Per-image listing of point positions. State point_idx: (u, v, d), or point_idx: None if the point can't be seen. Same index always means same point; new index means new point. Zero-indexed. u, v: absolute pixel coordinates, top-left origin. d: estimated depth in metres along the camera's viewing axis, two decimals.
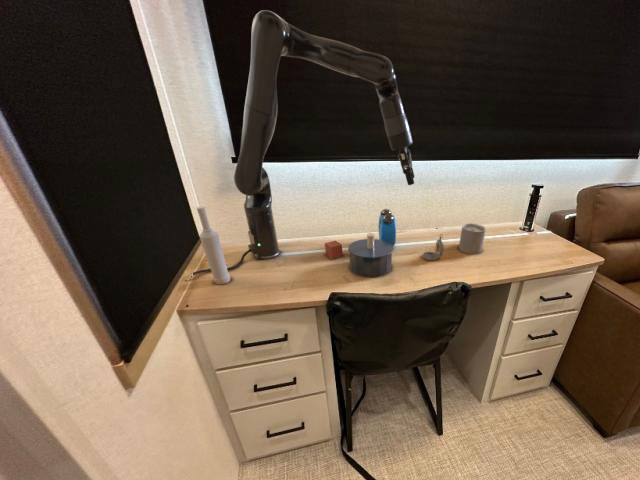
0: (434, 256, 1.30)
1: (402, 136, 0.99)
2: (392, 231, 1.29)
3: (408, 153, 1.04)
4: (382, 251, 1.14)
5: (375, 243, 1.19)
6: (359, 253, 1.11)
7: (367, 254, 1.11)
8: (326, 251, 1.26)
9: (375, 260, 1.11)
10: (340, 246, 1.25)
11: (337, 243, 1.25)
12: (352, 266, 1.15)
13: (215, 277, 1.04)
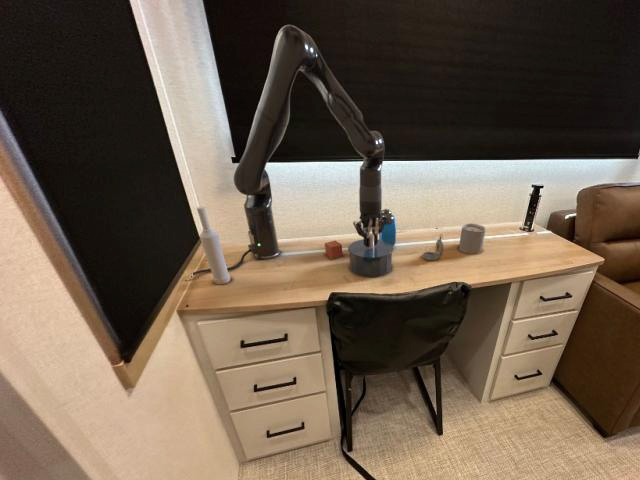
0: (434, 256, 1.30)
1: (364, 204, 1.04)
2: (392, 231, 1.29)
3: (368, 220, 1.08)
4: (382, 251, 1.14)
5: None
6: (359, 253, 1.11)
7: (367, 254, 1.11)
8: (326, 251, 1.26)
9: (375, 260, 1.11)
10: (340, 246, 1.25)
11: (337, 243, 1.25)
12: (352, 266, 1.15)
13: (215, 277, 1.04)
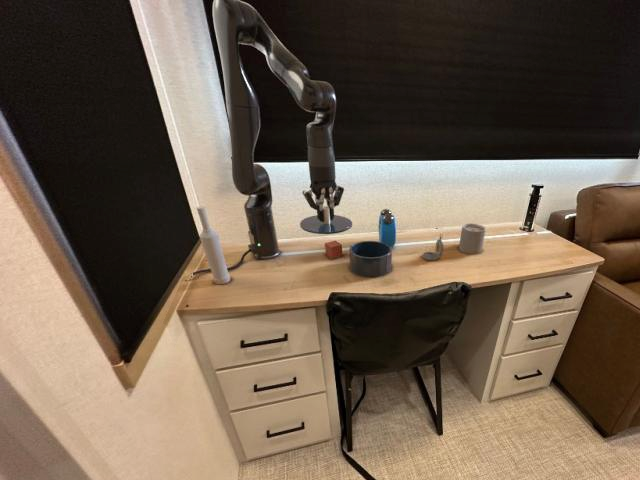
0: (434, 256, 1.30)
1: (313, 170, 0.90)
2: (392, 231, 1.29)
3: (320, 189, 0.94)
4: (338, 226, 1.00)
5: (333, 219, 1.05)
6: (311, 228, 0.97)
7: (320, 229, 0.97)
8: (326, 251, 1.26)
9: (375, 260, 1.11)
10: (340, 246, 1.25)
11: (337, 243, 1.25)
12: (352, 266, 1.15)
13: (215, 277, 1.04)
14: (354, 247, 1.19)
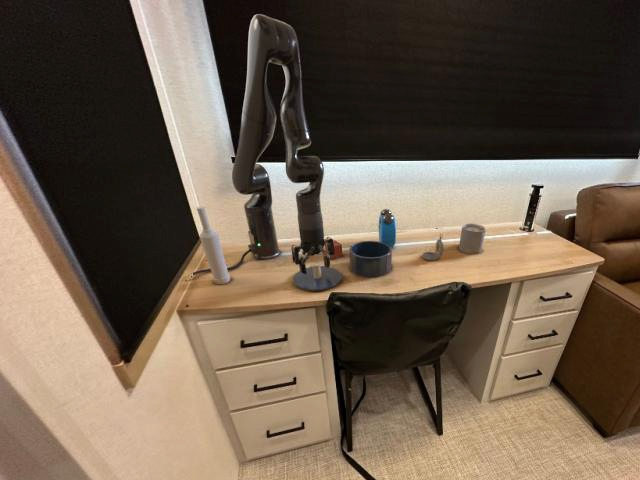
0: (434, 256, 1.30)
1: (302, 232, 0.97)
2: (392, 231, 1.29)
3: (310, 248, 1.01)
4: (329, 281, 1.07)
5: (324, 271, 1.13)
6: (303, 284, 1.05)
7: (311, 285, 1.05)
8: None
9: (375, 260, 1.11)
10: (340, 246, 1.25)
11: (337, 243, 1.25)
12: (352, 266, 1.15)
13: (215, 277, 1.04)
14: (354, 247, 1.19)
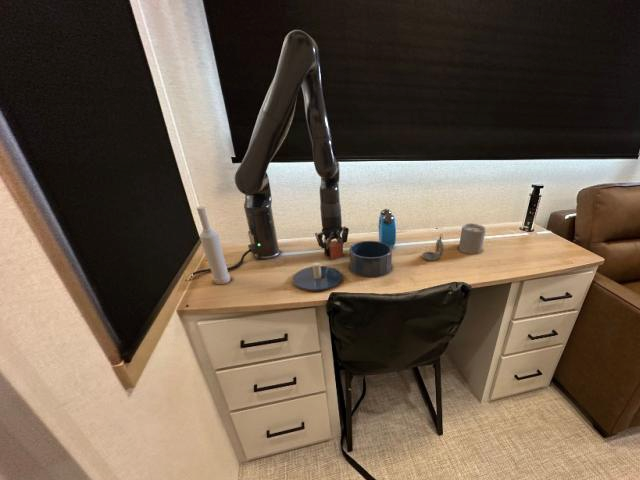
0: (434, 256, 1.30)
1: (324, 219, 1.16)
2: (392, 231, 1.29)
3: (330, 233, 1.20)
4: (329, 281, 1.07)
5: (324, 271, 1.13)
6: (303, 284, 1.05)
7: (311, 285, 1.05)
8: None
9: (375, 260, 1.11)
10: (340, 246, 1.25)
11: (337, 243, 1.25)
12: (352, 266, 1.15)
13: (215, 277, 1.04)
14: (354, 247, 1.19)
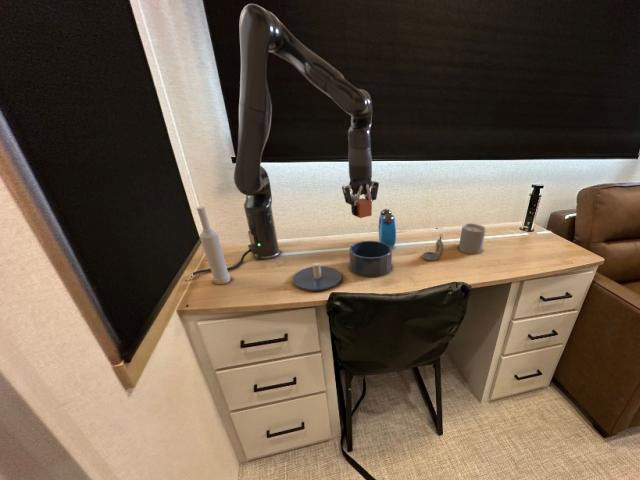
0: (434, 256, 1.30)
1: (353, 168, 1.00)
2: (392, 231, 1.29)
3: (359, 186, 1.04)
4: (329, 281, 1.07)
5: (324, 271, 1.13)
6: (303, 284, 1.05)
7: (311, 285, 1.05)
8: None
9: (375, 260, 1.11)
10: (369, 203, 1.09)
11: (366, 200, 1.09)
12: (352, 266, 1.15)
13: (215, 277, 1.04)
14: (354, 247, 1.19)
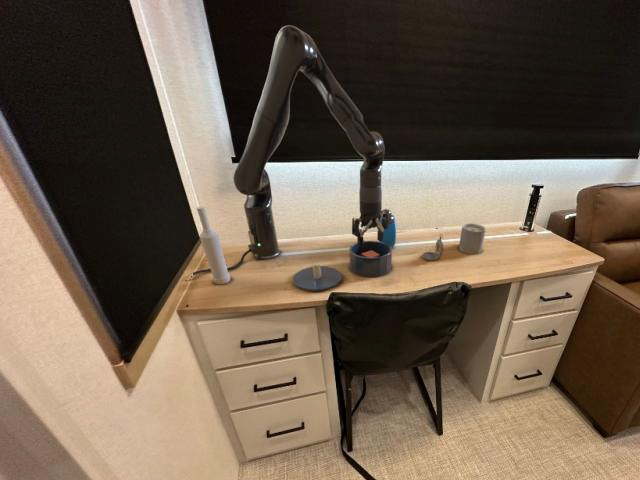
0: (434, 256, 1.30)
1: (364, 205, 1.04)
2: (392, 231, 1.29)
3: (368, 221, 1.08)
4: (329, 281, 1.07)
5: (324, 271, 1.13)
6: (303, 284, 1.05)
7: (311, 285, 1.05)
8: None
9: (375, 260, 1.11)
10: (378, 256, 1.17)
11: (374, 253, 1.18)
12: (352, 266, 1.15)
13: (215, 277, 1.04)
14: (354, 247, 1.19)
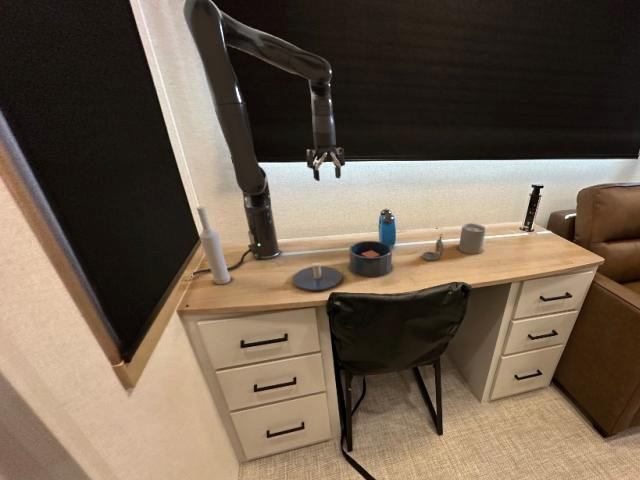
0: (434, 256, 1.30)
1: (316, 135, 1.07)
2: (392, 231, 1.29)
3: (323, 153, 1.10)
4: (329, 281, 1.07)
5: (324, 271, 1.13)
6: (303, 284, 1.05)
7: (311, 285, 1.05)
8: None
9: (375, 260, 1.11)
10: (378, 256, 1.17)
11: (374, 253, 1.18)
12: (352, 266, 1.15)
13: (215, 277, 1.04)
14: (354, 247, 1.19)
